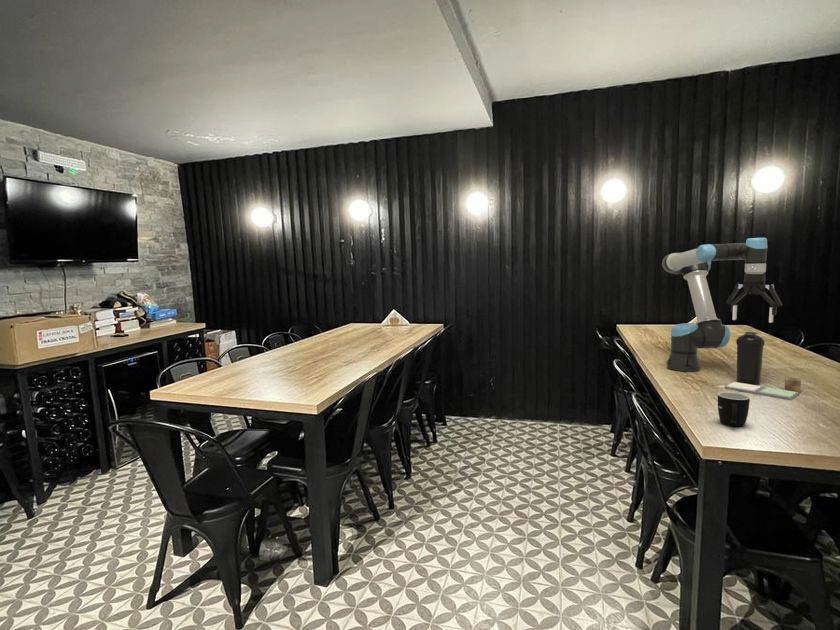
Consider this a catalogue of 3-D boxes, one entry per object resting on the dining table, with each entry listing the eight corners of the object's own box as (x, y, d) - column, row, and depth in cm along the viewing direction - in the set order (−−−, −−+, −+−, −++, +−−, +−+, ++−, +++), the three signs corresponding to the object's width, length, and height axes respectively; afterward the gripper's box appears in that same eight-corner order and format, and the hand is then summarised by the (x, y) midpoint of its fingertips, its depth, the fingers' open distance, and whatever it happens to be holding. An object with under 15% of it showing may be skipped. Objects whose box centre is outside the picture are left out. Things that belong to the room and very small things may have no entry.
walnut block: (784, 391, 187) (785, 379, 186) (784, 388, 191) (785, 377, 190) (800, 393, 184) (800, 381, 183) (799, 390, 188) (800, 378, 187)
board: (724, 388, 194) (724, 385, 193) (734, 383, 200) (734, 381, 200) (790, 400, 175) (791, 397, 175) (799, 394, 182) (799, 391, 181)
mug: (716, 418, 159) (717, 390, 158) (747, 421, 154) (748, 393, 153) (717, 429, 149) (718, 400, 148) (750, 433, 144) (752, 403, 143)
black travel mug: (763, 382, 201) (766, 332, 198) (760, 387, 194) (763, 335, 191) (736, 378, 208) (738, 330, 205) (732, 383, 200) (734, 333, 198)
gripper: (719, 273, 202) (717, 319, 205) (788, 273, 183) (784, 324, 185) (725, 272, 207) (723, 317, 210) (793, 272, 187) (790, 322, 190)
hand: (752, 321), depth 197 cm, fingers open, 13 cm apart
